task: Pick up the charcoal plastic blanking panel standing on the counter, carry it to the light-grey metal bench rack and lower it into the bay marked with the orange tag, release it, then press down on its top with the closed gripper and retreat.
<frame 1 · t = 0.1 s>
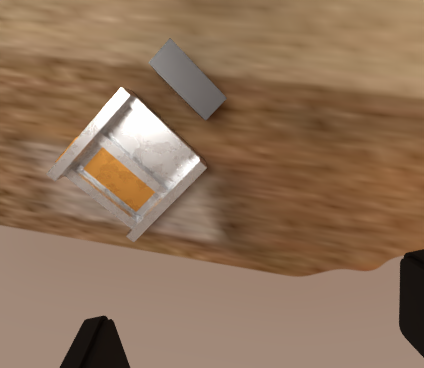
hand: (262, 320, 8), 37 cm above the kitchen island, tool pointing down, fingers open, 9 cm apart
blanking panel: (189, 86, 41), on the kitchen island
rack: (136, 163, 44), on the kitchen island
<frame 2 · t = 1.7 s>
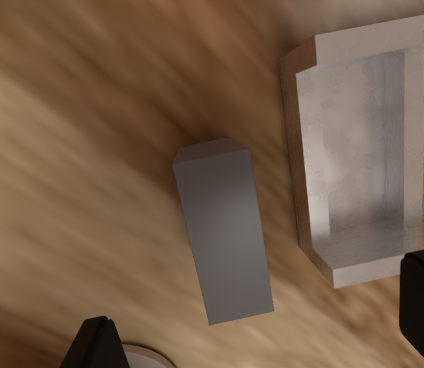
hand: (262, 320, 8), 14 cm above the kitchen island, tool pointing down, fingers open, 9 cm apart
blanking panel: (214, 200, 22), on the kitchen island
rack: (384, 142, 22), on the kitchen island
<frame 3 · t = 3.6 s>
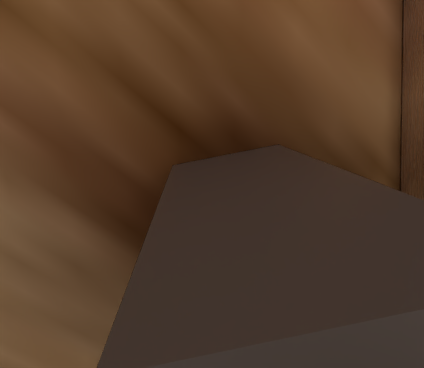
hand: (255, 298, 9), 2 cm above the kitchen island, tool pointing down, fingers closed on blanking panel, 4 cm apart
blanking panel: (245, 270, 11), on the kitchen island, touching gripper
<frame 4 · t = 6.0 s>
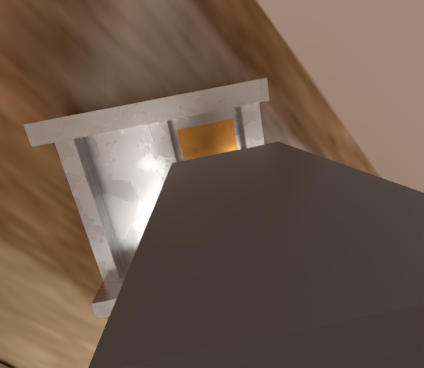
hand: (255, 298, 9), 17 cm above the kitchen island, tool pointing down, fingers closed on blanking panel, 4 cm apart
blanking panel: (245, 268, 11), point 15 cm above the kitchen island, touching gripper
rack: (177, 188, 25), on the kitchen island
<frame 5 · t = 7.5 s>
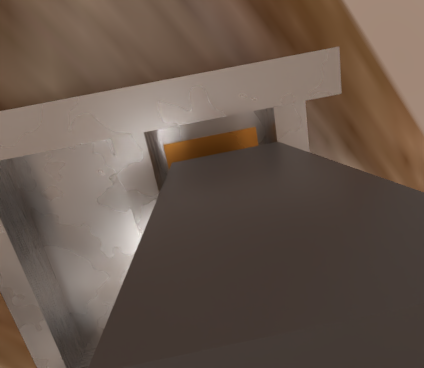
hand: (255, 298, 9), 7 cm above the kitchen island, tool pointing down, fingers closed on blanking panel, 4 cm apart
blanking panel: (245, 268, 11), point 6 cm above the kitchen island, touching gripper
rack: (166, 233, 16), on the kitchen island
when the fingers open (4 cm above the kitchen island, at t = 8.5 s): blanking panel drops 1 cm, resting on rack.
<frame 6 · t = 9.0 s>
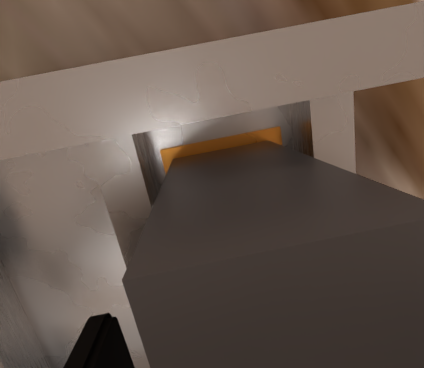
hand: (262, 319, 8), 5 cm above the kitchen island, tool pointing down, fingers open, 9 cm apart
blanking panel: (239, 255, 12), point 1 cm above the kitchen island, touching rack
rack: (164, 258, 13), on the kitchen island
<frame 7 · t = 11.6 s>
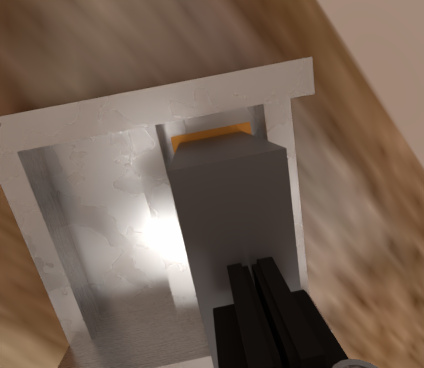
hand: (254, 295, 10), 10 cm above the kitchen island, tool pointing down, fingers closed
blanking panel: (224, 210, 18), point 1 cm above the kitchen island, touching rack
rack: (172, 215, 19), on the kitchen island
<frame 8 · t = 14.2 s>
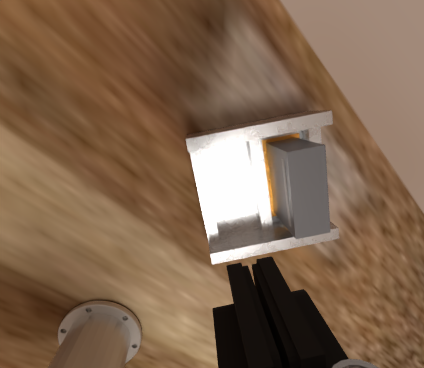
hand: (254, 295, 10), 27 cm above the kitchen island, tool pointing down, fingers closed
blanking panel: (284, 176, 36), point 1 cm above the kitchen island, touching rack
rack: (256, 179, 37), on the kitchen island
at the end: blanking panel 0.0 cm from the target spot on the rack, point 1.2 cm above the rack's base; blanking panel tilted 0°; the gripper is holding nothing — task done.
